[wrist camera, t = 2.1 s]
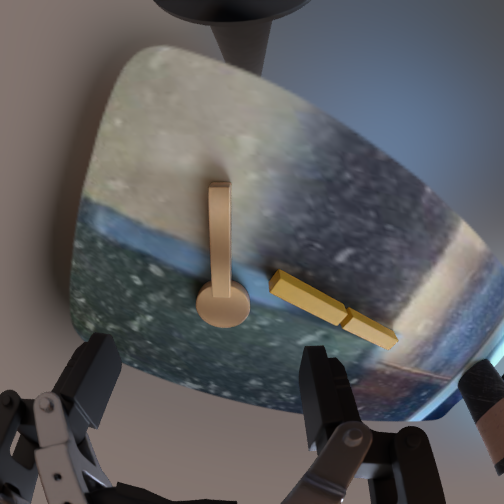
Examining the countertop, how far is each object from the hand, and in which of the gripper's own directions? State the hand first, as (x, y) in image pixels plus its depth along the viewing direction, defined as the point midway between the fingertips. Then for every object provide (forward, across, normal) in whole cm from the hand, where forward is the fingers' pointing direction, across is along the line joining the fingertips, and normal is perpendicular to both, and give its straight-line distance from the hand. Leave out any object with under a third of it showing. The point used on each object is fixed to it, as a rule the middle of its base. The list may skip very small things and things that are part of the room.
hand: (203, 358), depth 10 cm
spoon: (+11, 0, +1) cm, 11 cm away
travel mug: (+12, -40, +22) cm, 47 cm away
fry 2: (+11, -13, +8) cm, 19 cm away
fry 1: (+11, -7, +4) cm, 14 cm away
